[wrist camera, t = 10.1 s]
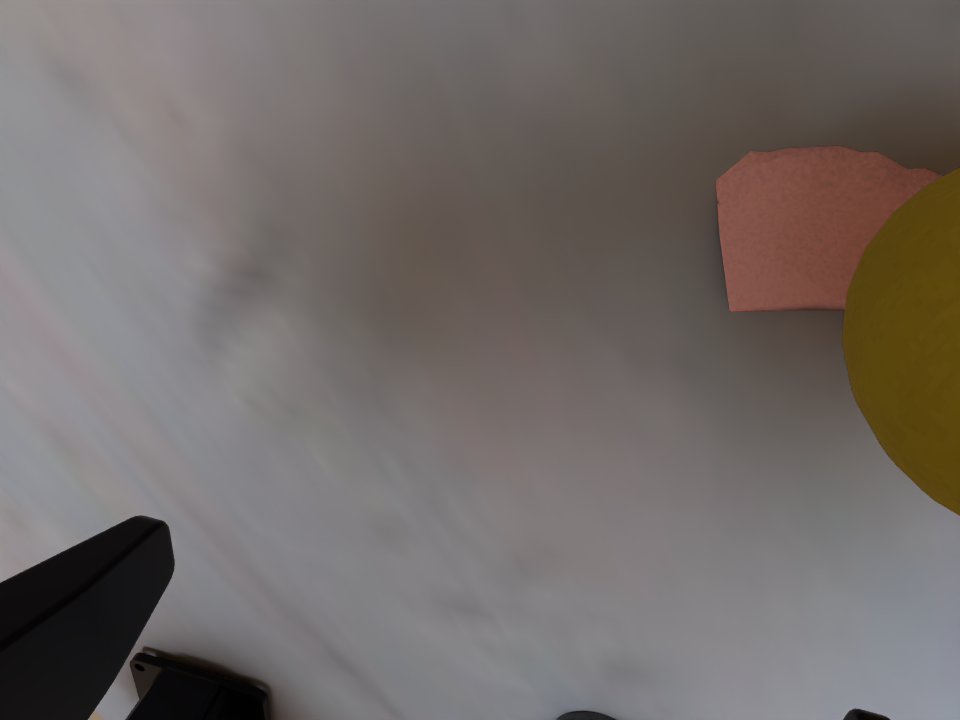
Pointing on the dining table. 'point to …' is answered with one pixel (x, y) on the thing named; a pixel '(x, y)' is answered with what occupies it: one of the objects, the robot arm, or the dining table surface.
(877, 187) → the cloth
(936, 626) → the dining table surface
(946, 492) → the lemon
